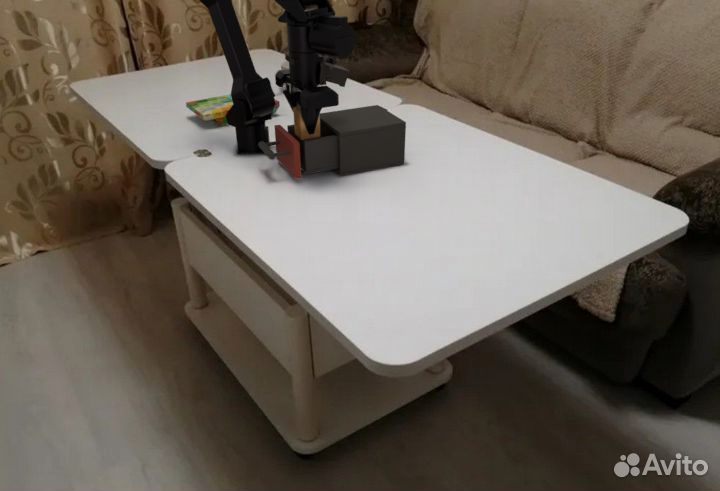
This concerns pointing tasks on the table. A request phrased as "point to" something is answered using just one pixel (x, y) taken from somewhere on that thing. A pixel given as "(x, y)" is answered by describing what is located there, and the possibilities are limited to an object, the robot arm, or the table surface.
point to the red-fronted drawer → (304, 150)
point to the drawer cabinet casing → (366, 138)
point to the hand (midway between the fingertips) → (307, 130)
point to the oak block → (300, 127)
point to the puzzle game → (216, 108)
